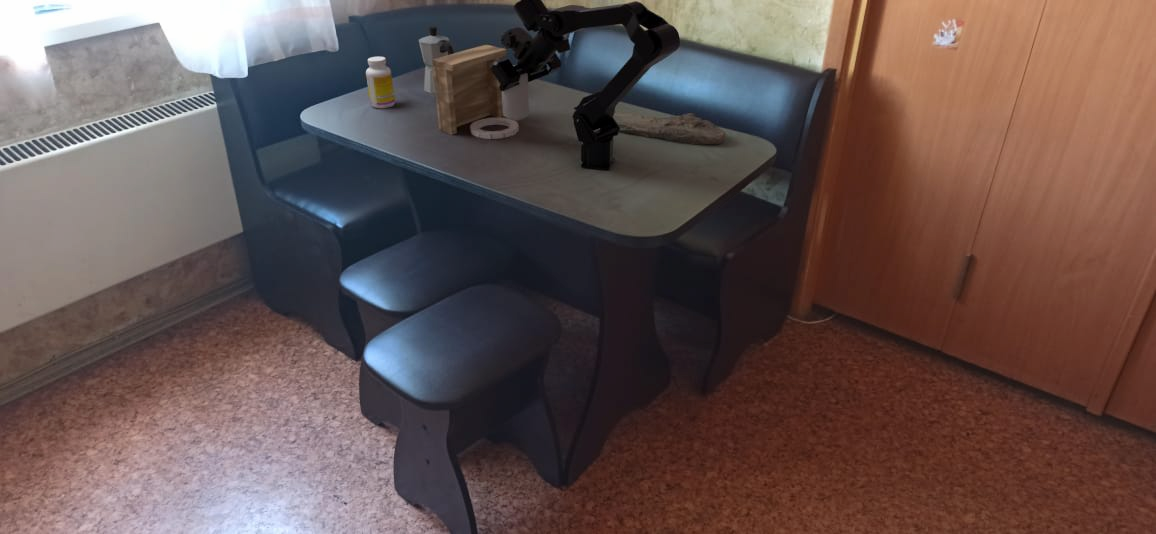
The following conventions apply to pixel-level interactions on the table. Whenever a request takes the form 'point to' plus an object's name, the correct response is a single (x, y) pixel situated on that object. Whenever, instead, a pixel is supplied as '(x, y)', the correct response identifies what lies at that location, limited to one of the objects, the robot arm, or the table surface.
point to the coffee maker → (433, 55)
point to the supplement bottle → (380, 83)
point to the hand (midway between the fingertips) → (510, 86)
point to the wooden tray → (467, 87)
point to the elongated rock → (671, 128)
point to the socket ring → (495, 134)
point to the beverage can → (516, 100)
